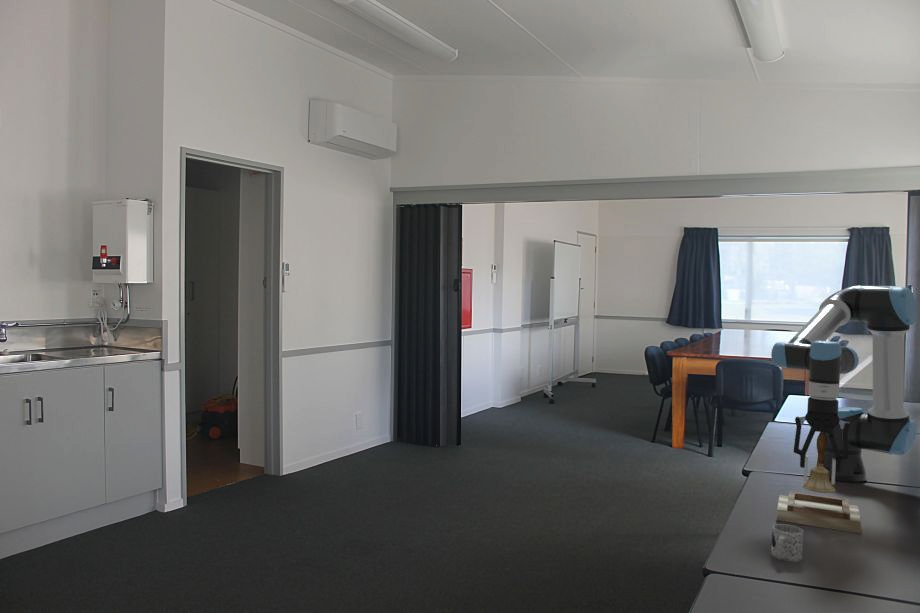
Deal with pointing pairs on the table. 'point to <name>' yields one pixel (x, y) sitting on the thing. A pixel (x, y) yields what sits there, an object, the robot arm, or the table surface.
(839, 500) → the stand
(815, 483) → the hand bell
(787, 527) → the mug
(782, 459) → the table surface
